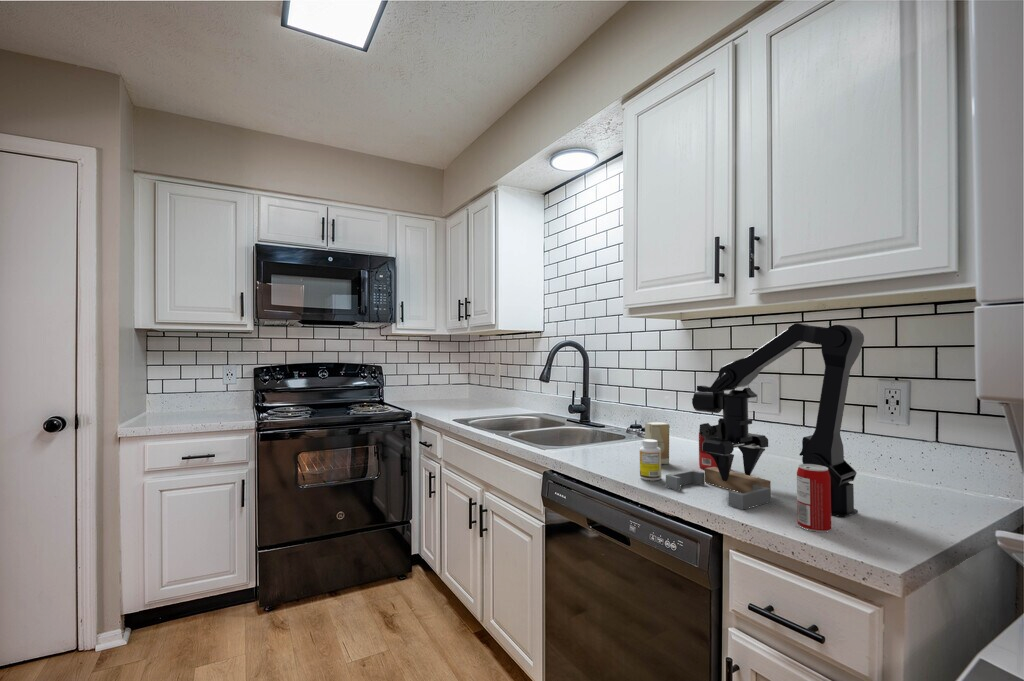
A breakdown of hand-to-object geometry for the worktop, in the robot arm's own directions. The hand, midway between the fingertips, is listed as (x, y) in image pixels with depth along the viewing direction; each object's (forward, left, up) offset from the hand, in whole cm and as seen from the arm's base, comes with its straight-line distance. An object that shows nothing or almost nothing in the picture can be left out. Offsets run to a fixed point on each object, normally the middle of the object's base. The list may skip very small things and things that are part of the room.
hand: (736, 478), depth 122 cm
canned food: (+17, -14, -3) cm, 22 cm away
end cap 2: (-9, +8, -3) cm, 12 cm away
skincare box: (+31, -6, -3) cm, 31 cm away
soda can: (-24, +12, -3) cm, 27 cm away
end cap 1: (+9, +8, -3) cm, 12 cm away
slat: (0, 0, -3) cm, 3 cm away
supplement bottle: (+19, +10, -3) cm, 21 cm away
